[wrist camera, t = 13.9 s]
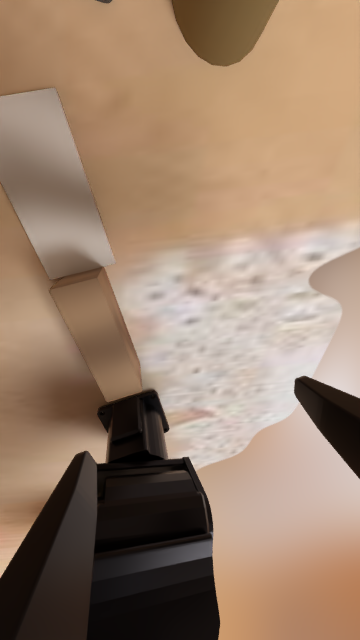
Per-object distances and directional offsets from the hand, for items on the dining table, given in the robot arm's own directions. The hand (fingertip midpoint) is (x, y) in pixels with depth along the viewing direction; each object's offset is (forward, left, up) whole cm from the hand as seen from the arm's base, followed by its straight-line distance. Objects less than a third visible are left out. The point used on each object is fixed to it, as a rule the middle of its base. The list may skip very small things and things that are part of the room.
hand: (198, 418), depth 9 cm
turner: (+5, +5, -12) cm, 14 cm away
